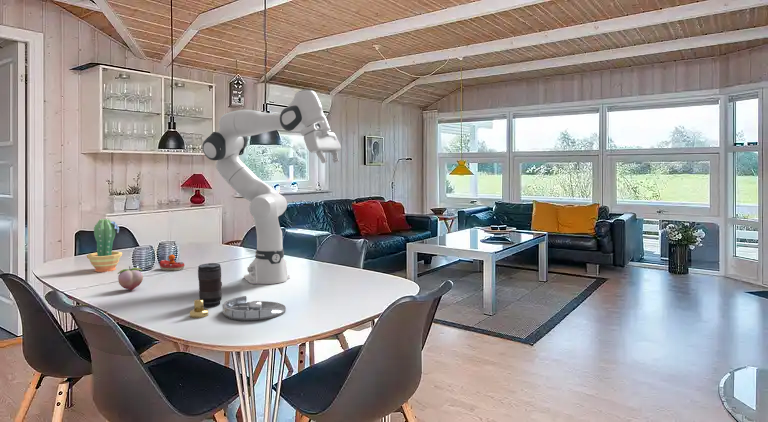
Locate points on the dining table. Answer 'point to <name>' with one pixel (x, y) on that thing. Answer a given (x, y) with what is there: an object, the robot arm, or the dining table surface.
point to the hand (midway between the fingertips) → (330, 162)
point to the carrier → (251, 309)
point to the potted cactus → (105, 247)
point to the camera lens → (210, 284)
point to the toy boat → (171, 264)
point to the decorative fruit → (130, 278)
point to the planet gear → (198, 310)
